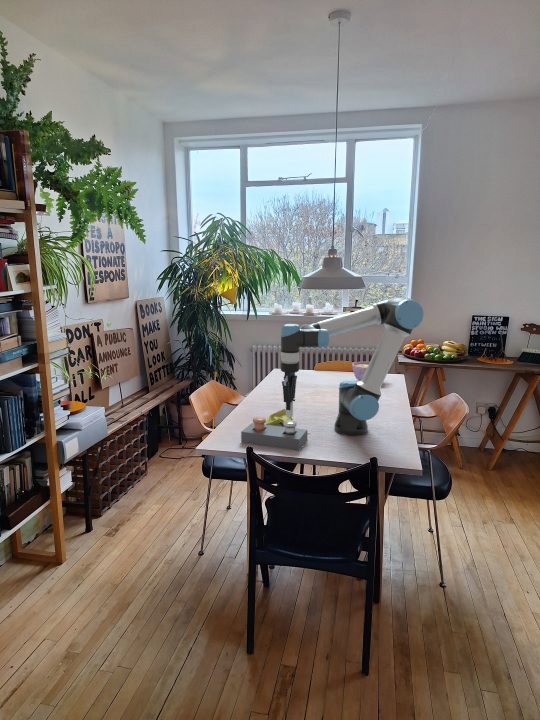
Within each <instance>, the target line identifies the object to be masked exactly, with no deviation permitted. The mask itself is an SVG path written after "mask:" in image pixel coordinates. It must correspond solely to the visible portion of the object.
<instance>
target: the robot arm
mask: <svg viewBox="0 0 540 720" xmlns="http://www.w3.org/2000/svg"><path fill="white" fill-rule="evenodd" d="M422 307H423V306H422V305H421V304H420V303H419V302H418V301H417V300H414V299H411V298H405V297H400V296H397V297H396V296H395V297H390V298H388V299H384V300H382V301H378V302H376V303H373V304H372V305H371V306H370V307H366V308H363V309H359V310H356V311H353V312H349V313H345V314H342V315H339V316H335V317H332V318H328V319H324V320H322V321H318V322H313V323H311V324H308V323H305V324H303V325H301V326H300V325H299V324H297V323H296V324H295V323H287V324H286V323H285V324H283V325H282V326H281V333H280V354H279V356H280V361H281V362H280V371H281V372H282V373H284V376H283V380H282V381H281V384H282V385H281V386H282V395H283V396H282V397H283V402H284V403H285V409H286V417H292V418H293V417H294V402H295V401H296V399H295V398H296V389H297V380H298V375H296V373H298V372H299V371H300V363H299V361H300V349H301V348H302V349H303V348H319V349H320V348H327V347H328V345H329V343H330V338H331V337H333V336H336V335H340V334H343V333H347V332H350V331H355V330H357V329H361V328H365V327H368V326H372V325H378V326H380V325H384V328H385V329H384V332H383V334H381V335H382V336H381V337H380V339H379V342H378V344H377V347H376V348H375V351H374V353H373V355H372V357H371V359H370V361H369V362H370V363H369V365H368V367H367V369H366V371H365V373H364V376H363V378H362V380H361V381H359V380H344V381H340V382H339V385H338V386H339V387H338V391H339V392H338V414H337V416H336V420H335V422H334V427H333V428H334V431H335V432H336V433H338V434H342V435H346V436H361V435H364V434H366V433H368V430H369V429H368V427H369V426H368V425H369V424H368V423H367V421H369V420H371V419H373V418H375V416H377V414H378V412H379V409H380V405H379V404H380V403H379V400H380V398H381V397H382V392H381V387H382V386H383V383H384V382H385V379H386V378H387V375H388V373H389V371H390V369H391V367H392V365H393V363H394V360H395V358H396V357H397V354H398V352H399V350H400V348H401V346H402V345H403V341H405V340H404V339H406V337H409V336H411V334H412V331H413V330H414V329H415V328H417V327H419V326H420V324H421V323H422V322H423V319H424V310H423V308H422Z"/></svg>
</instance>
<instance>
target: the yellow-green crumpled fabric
mask: <svg viewBox="0 0 540 720" xmlns="http://www.w3.org/2000/svg"><path fill="white" fill-rule="evenodd" d="M285 421H294V419H293V417H286V408H282V409H280V410H278V411H276V412H274V413H271V414H270V415H269V416H268V417H267V418H266V422H265V423H264V424H265V425H273V426H281V427H283V425H282V424H283V422H285Z"/></svg>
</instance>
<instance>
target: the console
mask: <svg viewBox="0 0 540 720" xmlns="http://www.w3.org/2000/svg"><path fill="white" fill-rule="evenodd" d="M281 426H282V425H281ZM281 426H273V425H266V424H265V423H264V431H255V430H254V423H253V422H252V423H250V424H248V426H247V427H245V428H243V429H242V431H240V437H241V438H240V439H241V444H249V445H256V446H262V447H269V448H276V449H284V450H291V451H297V450H298V451H297V452H300V450H301V449H302V448H303V447H304V446H305V444H306V443H307V442H308V429H304V428H296V427H295V435H286V434H285V427H284V426H282V427H281ZM302 446H303V447H302Z"/></svg>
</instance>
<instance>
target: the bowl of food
mask: <svg viewBox="0 0 540 720" xmlns="http://www.w3.org/2000/svg"><path fill="white" fill-rule="evenodd" d="M369 363H370V361H355V362H353V363H352V364H351V365H352V370H353V374H354V377H355V379H356V381H361V380H362V378H363V376H364V373H365V371H366V369H367V367H368V365H369Z"/></svg>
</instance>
